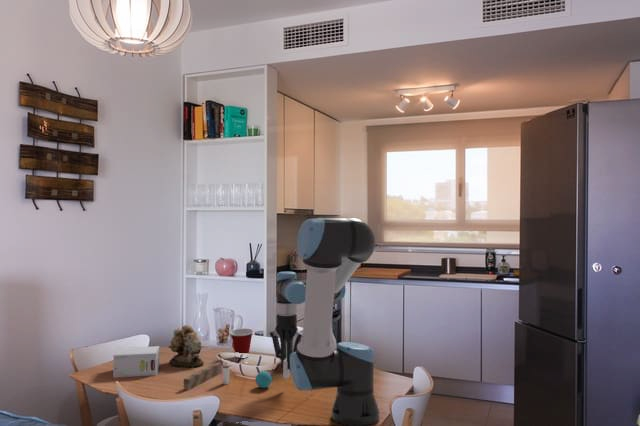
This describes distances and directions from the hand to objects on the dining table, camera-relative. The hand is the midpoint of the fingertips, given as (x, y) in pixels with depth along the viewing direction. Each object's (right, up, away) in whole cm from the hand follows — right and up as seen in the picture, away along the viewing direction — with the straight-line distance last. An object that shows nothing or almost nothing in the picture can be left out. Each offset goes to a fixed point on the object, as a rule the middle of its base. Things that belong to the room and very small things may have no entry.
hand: (286, 377), depth 201 cm
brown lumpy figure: (-47, -6, +37) cm, 59 cm away
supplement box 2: (+2, -5, +37) cm, 38 cm away
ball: (-9, -2, +3) cm, 9 cm away
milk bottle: (+15, -5, +23) cm, 28 cm away
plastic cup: (-24, -5, +47) cm, 53 cm away
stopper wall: (-33, -5, +12) cm, 36 cm away
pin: (-24, -5, +8) cm, 26 cm away
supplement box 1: (-64, -6, +25) cm, 68 cm away
